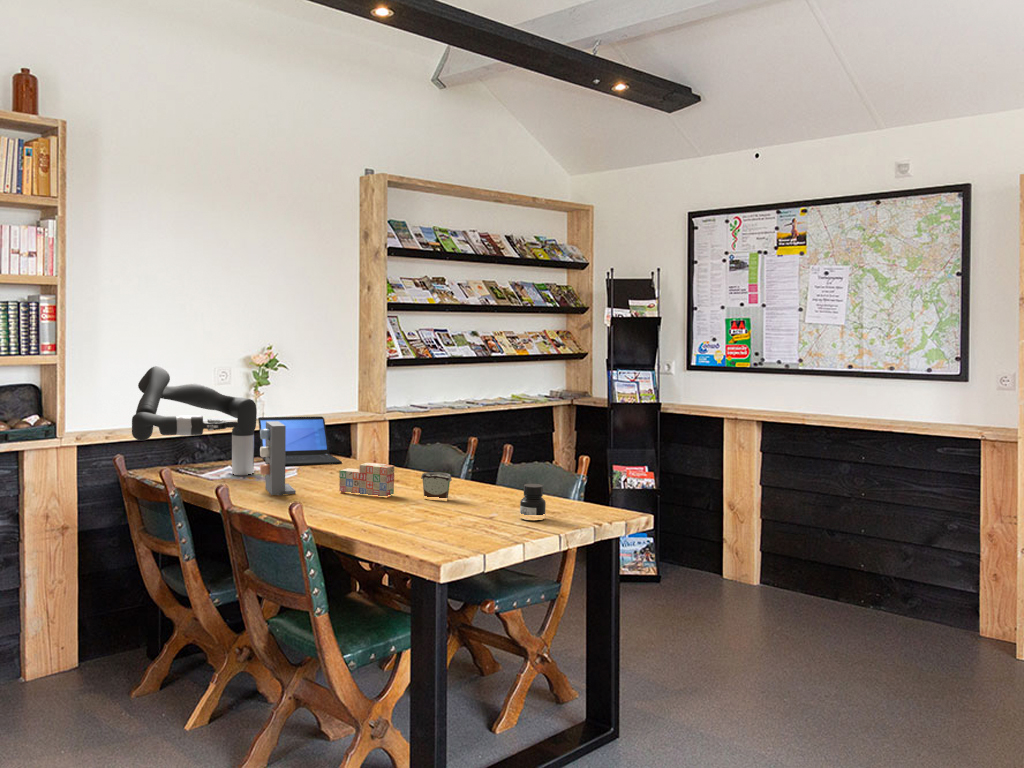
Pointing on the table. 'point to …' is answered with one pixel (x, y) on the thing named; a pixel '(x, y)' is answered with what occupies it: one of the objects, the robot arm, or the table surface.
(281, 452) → the grey upright post stand
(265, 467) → the terracotta button
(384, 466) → the stack of blocks
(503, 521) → the table surface
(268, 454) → the cream button
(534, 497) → the ink bottle
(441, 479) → the food container
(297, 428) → the laptop
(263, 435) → the slate button
